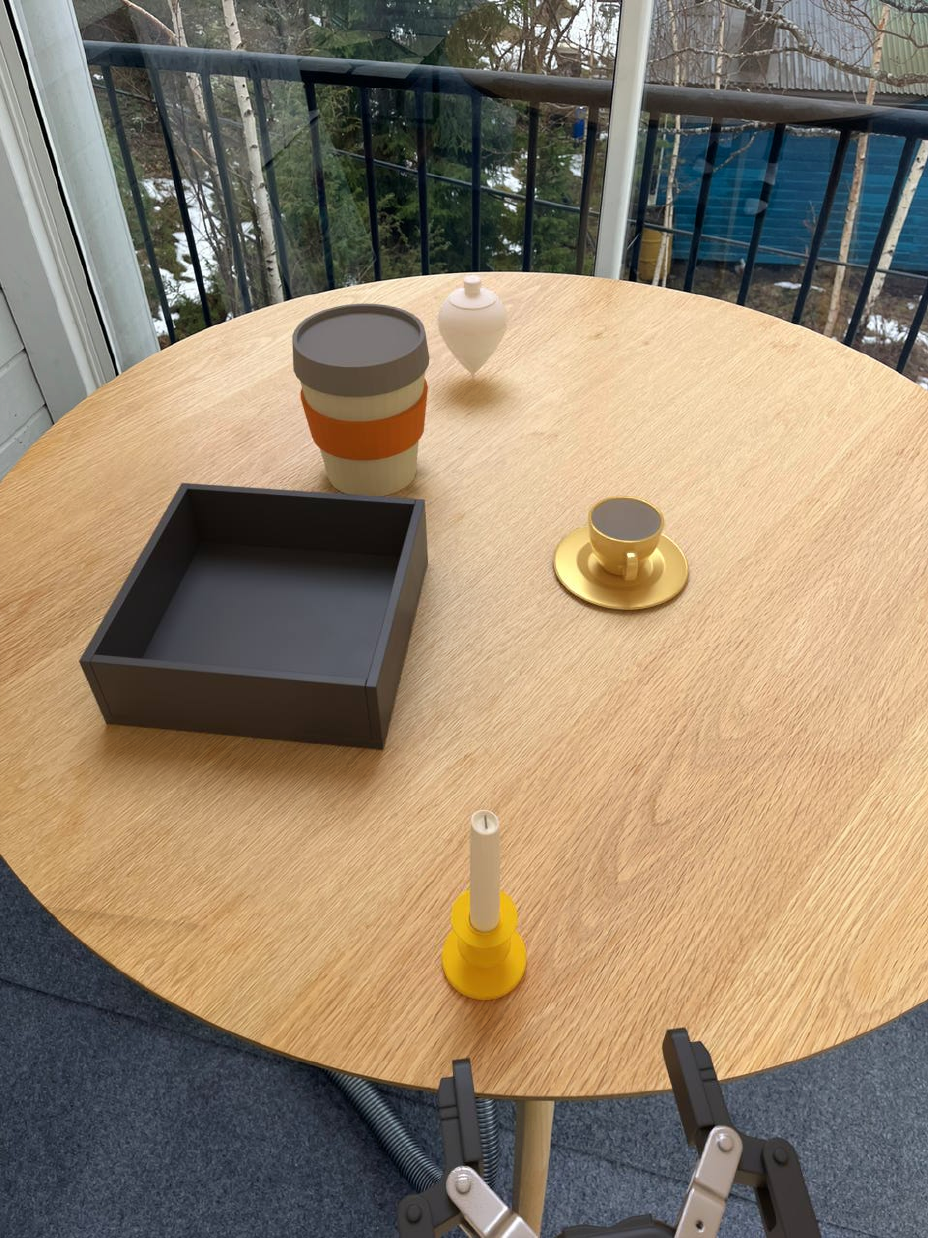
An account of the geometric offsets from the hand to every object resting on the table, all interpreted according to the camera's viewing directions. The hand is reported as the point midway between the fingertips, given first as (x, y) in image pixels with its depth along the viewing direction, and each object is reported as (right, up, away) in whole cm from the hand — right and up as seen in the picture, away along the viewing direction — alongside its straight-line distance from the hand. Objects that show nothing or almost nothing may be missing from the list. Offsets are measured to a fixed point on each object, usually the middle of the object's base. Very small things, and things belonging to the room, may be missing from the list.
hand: (567, 1050), depth 37 cm
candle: (-3, -4, +21) cm, 21 cm away
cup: (+10, +22, +47) cm, 53 cm away
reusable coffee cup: (-13, +32, +58) cm, 68 cm away
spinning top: (-3, +44, +71) cm, 84 cm away
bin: (-19, +16, +41) cm, 48 cm away
